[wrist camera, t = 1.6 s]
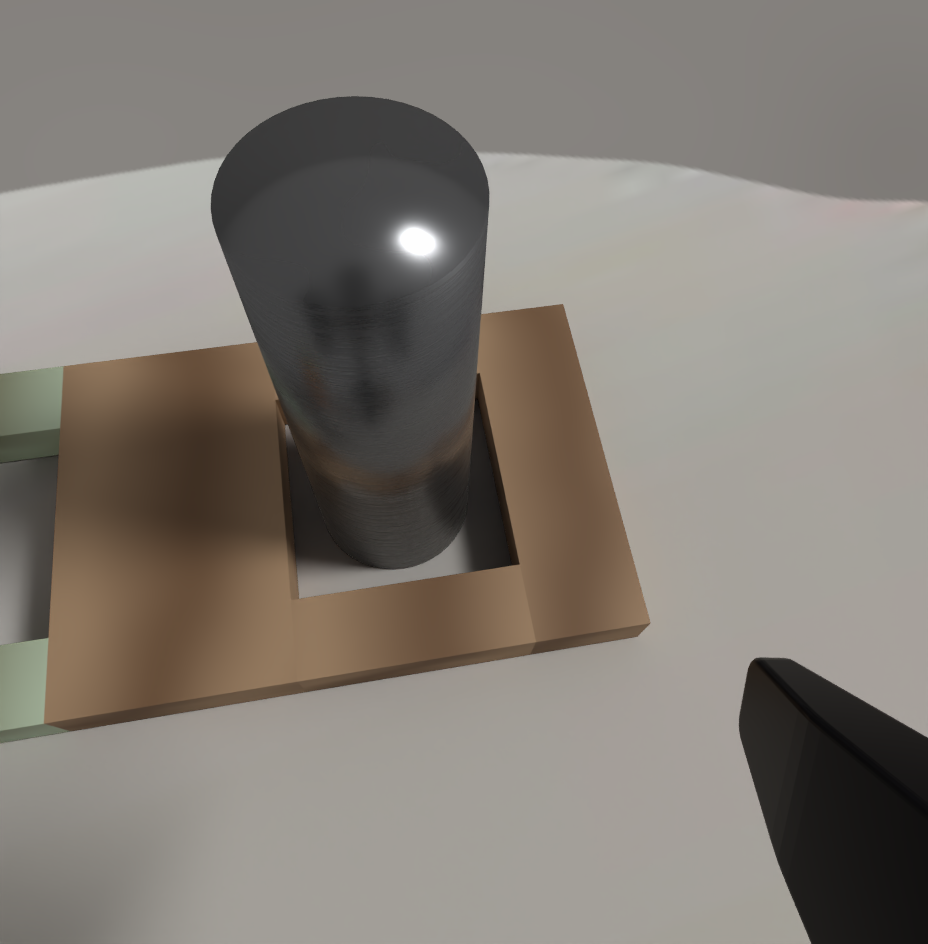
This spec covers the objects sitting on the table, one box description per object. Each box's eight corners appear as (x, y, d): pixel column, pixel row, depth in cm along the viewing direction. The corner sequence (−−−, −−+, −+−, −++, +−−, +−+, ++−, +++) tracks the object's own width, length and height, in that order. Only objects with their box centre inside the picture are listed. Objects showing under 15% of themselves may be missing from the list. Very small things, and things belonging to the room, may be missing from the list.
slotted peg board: (-310, 794, 21) (-367, 791, 19) (-226, 432, 25) (-267, 407, 24) (637, 636, 23) (650, 623, 22) (556, 331, 28) (563, 304, 26)
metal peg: (367, 596, 23) (289, 352, 12) (296, 478, 25) (165, 157, 13) (495, 521, 24) (542, 230, 13) (420, 412, 26) (401, 64, 14)
